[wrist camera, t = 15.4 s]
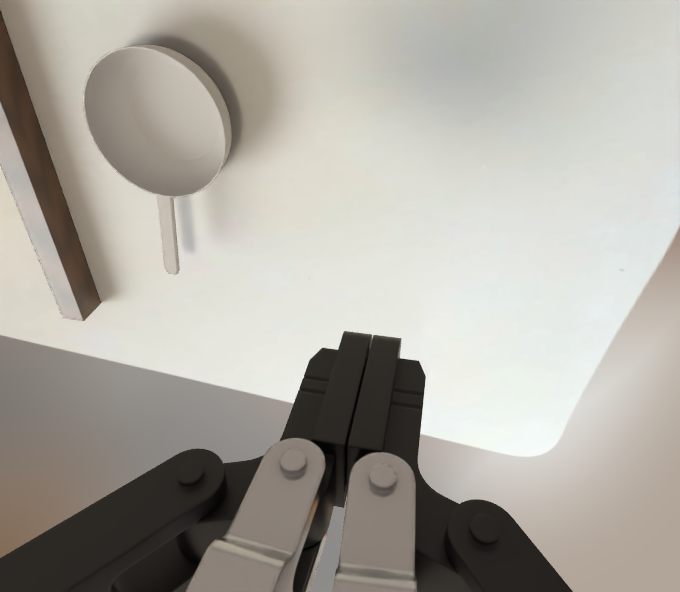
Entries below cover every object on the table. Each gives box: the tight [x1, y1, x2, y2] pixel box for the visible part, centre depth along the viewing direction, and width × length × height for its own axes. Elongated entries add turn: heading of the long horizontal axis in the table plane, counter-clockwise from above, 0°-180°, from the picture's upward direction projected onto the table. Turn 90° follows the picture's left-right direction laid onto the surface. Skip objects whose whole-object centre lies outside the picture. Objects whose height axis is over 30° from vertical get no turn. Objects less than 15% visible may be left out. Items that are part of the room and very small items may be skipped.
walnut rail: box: [0, 13, 101, 321], centre depth 44 cm, size 30×2×3 cm, turn 0°
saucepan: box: [83, 45, 232, 275], centre depth 40 cm, size 11×18×4 cm, turn 175°
